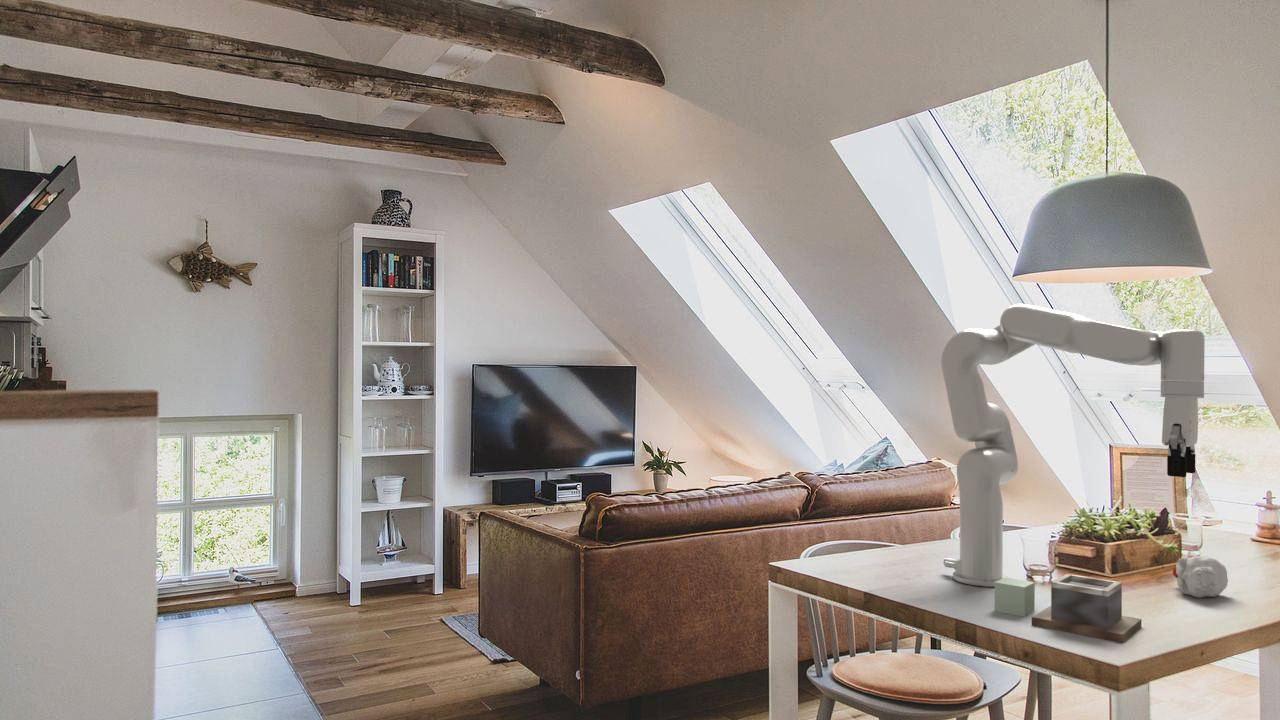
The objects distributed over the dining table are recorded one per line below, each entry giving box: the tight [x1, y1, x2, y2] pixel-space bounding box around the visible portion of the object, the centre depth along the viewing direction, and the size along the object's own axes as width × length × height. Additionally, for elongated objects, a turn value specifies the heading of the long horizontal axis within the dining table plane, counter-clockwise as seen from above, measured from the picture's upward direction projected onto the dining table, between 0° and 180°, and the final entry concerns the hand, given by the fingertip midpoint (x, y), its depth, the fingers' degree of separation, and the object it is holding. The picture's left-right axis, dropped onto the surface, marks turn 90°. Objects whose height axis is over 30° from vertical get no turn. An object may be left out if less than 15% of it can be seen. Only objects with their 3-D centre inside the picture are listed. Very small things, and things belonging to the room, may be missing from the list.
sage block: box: [994, 577, 1036, 618], centre depth 178 cm, size 6×6×6 cm
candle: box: [1172, 555, 1229, 599], centre depth 195 cm, size 9×11×15 cm
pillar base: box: [1031, 573, 1142, 644], centre depth 168 cm, size 16×14×8 cm
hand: (1181, 474), depth 174 cm, fingers open, 9 cm apart
